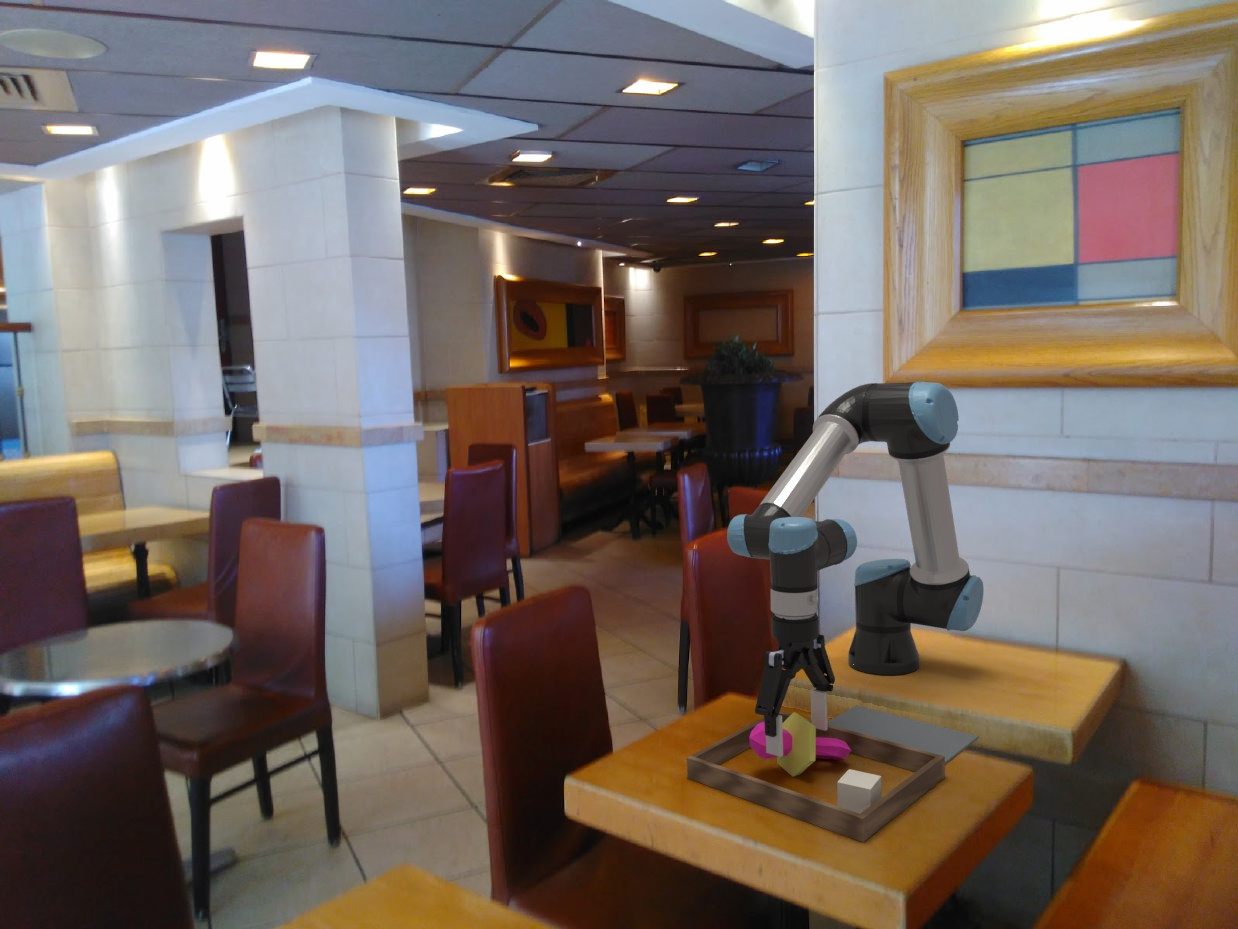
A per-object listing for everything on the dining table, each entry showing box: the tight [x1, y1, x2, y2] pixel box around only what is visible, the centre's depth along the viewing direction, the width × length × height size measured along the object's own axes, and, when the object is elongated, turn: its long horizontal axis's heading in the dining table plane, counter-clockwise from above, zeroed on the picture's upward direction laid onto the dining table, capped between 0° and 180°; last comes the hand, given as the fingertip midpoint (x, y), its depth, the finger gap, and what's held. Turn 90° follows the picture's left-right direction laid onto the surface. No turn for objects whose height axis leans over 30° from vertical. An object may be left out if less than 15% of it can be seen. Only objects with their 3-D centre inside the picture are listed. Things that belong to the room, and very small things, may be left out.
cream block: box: [836, 768, 883, 814], centre depth 135 cm, size 5×5×5 cm
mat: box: [827, 704, 980, 765], centre depth 161 cm, size 24×18×1 cm
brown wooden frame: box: [686, 710, 946, 843], centre depth 146 cm, size 32×26×4 cm
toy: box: [749, 711, 851, 777], centre depth 150 cm, size 10×18×10 cm, turn 107°
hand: (797, 741), depth 148 cm, fingers open, 12 cm apart
